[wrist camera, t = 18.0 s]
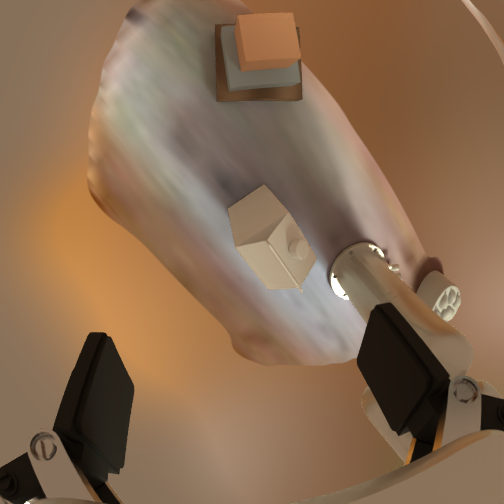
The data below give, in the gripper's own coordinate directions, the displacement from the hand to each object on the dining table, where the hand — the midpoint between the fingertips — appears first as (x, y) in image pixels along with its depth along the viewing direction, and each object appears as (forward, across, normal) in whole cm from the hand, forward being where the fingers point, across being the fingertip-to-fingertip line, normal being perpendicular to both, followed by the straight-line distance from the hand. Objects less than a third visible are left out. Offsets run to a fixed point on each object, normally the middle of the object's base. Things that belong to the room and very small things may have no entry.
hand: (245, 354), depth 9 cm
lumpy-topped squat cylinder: (+37, -51, +30) cm, 69 cm away
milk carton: (+36, -6, +7) cm, 38 cm away
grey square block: (+33, -6, -17) cm, 38 cm away
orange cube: (+29, -6, -18) cm, 34 cm away
